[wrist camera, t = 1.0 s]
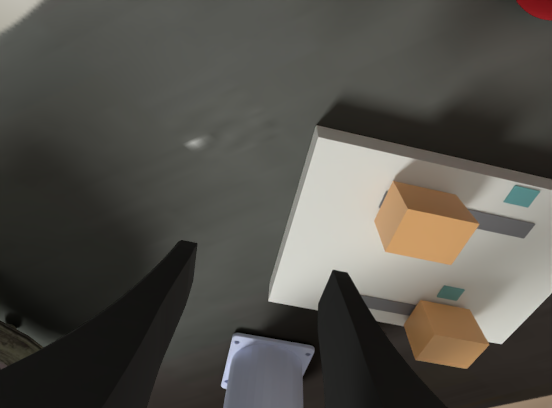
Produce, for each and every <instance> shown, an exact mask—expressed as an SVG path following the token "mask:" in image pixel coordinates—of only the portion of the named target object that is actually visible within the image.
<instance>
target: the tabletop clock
mask: <svg viewBox="0 0 552 408" xmlns="http://www.w3.org/2000/svg"><path fill="white" fill-rule="evenodd" d="M42 348H44V347H42V346H41V345H40V344H38V343H37V342H36V341H34V340H33V339H32V338H31V337H29V336H28V335H26V334H24V333H22V332H20V331H18V330H17V329H16V327H15V326H14V325H13V324H5V323H4V322H2V321H0V370H1V369H3V368H5V367H7V366H9V365H11V364H13V363H15V362H17V361H19V360H21V359H23V358H25V357H27V356H29V355H31V354H33V353H35V352H37V351H39V350H40V349H42Z"/></svg>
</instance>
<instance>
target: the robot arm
mask: <svg viewBox="0 0 552 408" xmlns="http://www.w3.org/2000/svg"><path fill="white" fill-rule="evenodd" d="M196 251H197V243H194V242H189V241H183V240H181V241H179V242H178V243H177V244H176V245H175V246H174V248H173V249H172V250H171V251H170V252H169V253H168V254H167V255H166V257H165V258H164V259H163V260H162V261H161V262H160V263H159V264H158V265H157V266H156V267H155V268H154V269H153V270H152V271H151V272H150V273H148V274H147V275H146V276H145V277H144V278H143V279H142V280H141V281H140V282H139V283H137V284H136V285H135V286H134V287H133V288H132V289H130V290H129V291H128V292H127V293H126V294H125V295H123V296H122V297H121V298H120V299H118V300H117V301H116V302H114V303H113V304H112V305H110V306H109V307H108V308H106V309H105V310H104V311H102V312H101V313H99V314H98V315H96V316H95V317H93V318H92V319H90V320H89V321H87V322H86V323H84V324H83V325H81V326H80V327H78V328H77V329H75V330H73V331H72V332H70V333H68V334H67V335H65V336H63V337H61V338H60V339H58V340H56V341H54V342H53V343H51V344H49V345H48V346H46V347H44V348H42V349H40V350H39V351H37V352H35V353H33V354H31V355H29V356H27V357H25V358H23V359H21V360H19V361H17V362H15V363H13V364H11V365H9V366H7V367H5V368H3V369H1V370H0V408H147V405H148V402H149V398H150V395H151V392H152V389H153V386H154V383H155V380H156V377H157V374H158V371H159V368H160V365H161V363H162V360H163V357H164V355H165V353H166V350H167V348H168V346H169V343H170V341H171V339H172V336H173V334H174V332H175V329H176V327H177V325H178V322H179V320H180V317H181V315H182V313H183V310H184V308H185V306H186V303H187V299H188V296H189V293H190V289H191V286H192V283H193V277H194V268H195V259H196ZM318 337H319V346H320V355H321V364H322V373H323V382H324V394H325V408H447V407H446V406H445V405H444V404H443V403H442V402H441V401H440V400H439V399H438V398H437V396H436V395H435V394H434V393H433V392H432V391H431V390H430V389H429V388H428V387H427V386H426V385H425V384H424V382H423V381H422V380H421V379H420V378H419V377H418V376H417V375H416V374H415V372H414V371H413V370H412V369H411V368H410V366H409V365H408V364H407V363H406V361H405V360H404V359H403V358H402V356H401V355H400V354H399V353H398V351H397V350H396V349H395V347H394V346H393V345H392V343H391V342H390V341H389V339H388V338H387V336H386V335H385V333H384V332H383V331H382V329H381V328H380V326H379V325H378V323H377V321H376V320H375V318H374V317H373V315H372V313H371V312H370V310H369V309H368V307H367V305H366V304H365V302H364V300H363V298H362V297H361V295H360V293H359V291H358V290H357V288H356V286H355V284H354V283H353V281H352V279H351V277H350V276H349V274H348V272H342V271H337V270H332V273H331V275H330V277H329V280H328V282H327V284H326V287H325V289H324V291H323V294H322V296H321V298H320V300H319V303H318ZM314 352H315V349H314V347H313V346H311V345H306V344H301V343H295V342H289V341H283V340H278V339H272V338H266V337H261V336H255V335H249V334H243V333H234V334H233V337H232V341H231V345H230V349H229V354H228V358H227V362H226V366H225V370H224V375H223V379H222V383H221V387H222V388H225V389H226V395H225V401H224V407H223V408H303V375H304V373H305V371H306V369H307V367H308V365H309V362H310V360H311V358H312V356H313V354H314Z"/></svg>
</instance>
